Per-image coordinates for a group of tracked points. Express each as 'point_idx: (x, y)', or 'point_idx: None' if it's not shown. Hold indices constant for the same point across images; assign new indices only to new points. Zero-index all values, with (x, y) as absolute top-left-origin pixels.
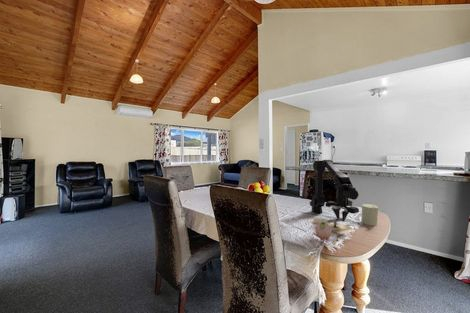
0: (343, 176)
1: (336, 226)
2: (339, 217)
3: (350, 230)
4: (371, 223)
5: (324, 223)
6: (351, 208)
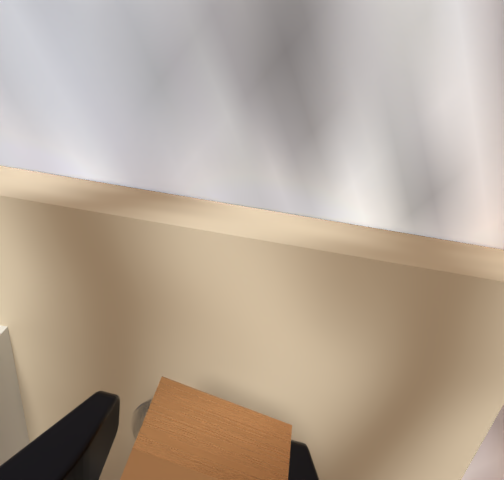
0: None
1: None
2: (85, 454)
3: (488, 427)
4: None
5: None
6: None
